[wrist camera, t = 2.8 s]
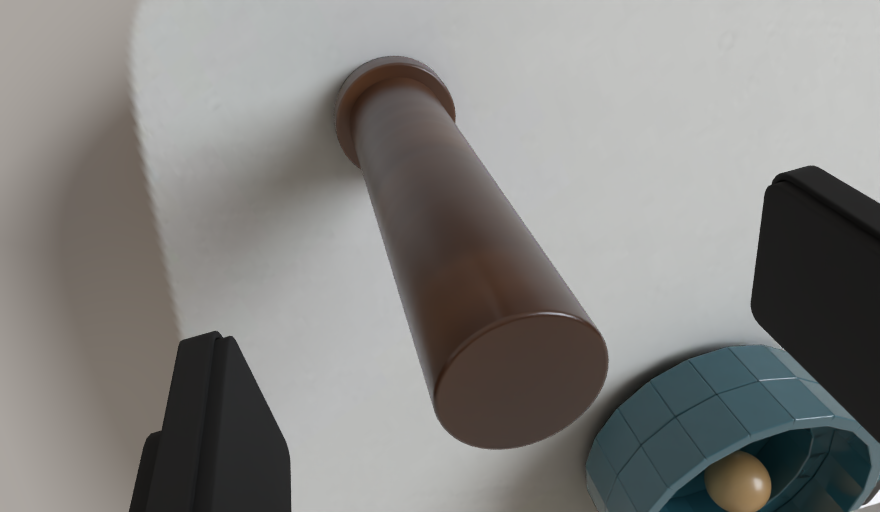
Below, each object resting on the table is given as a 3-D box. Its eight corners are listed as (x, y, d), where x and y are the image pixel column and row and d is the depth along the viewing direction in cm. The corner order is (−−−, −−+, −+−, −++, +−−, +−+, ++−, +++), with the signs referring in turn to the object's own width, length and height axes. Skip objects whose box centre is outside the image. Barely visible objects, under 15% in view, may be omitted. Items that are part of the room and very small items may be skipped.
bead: (691, 484, 33) (725, 534, 31) (693, 447, 31) (730, 498, 29) (743, 466, 33) (781, 515, 31) (748, 429, 32) (789, 478, 29)
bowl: (586, 534, 35) (629, 627, 30) (573, 382, 28) (626, 475, 24) (786, 467, 36) (854, 548, 32) (820, 305, 29) (912, 381, 25)
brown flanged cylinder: (351, 181, 20) (432, 494, 10) (318, 72, 18) (381, 333, 8) (458, 152, 21) (635, 428, 11) (438, 42, 19) (634, 258, 9)
